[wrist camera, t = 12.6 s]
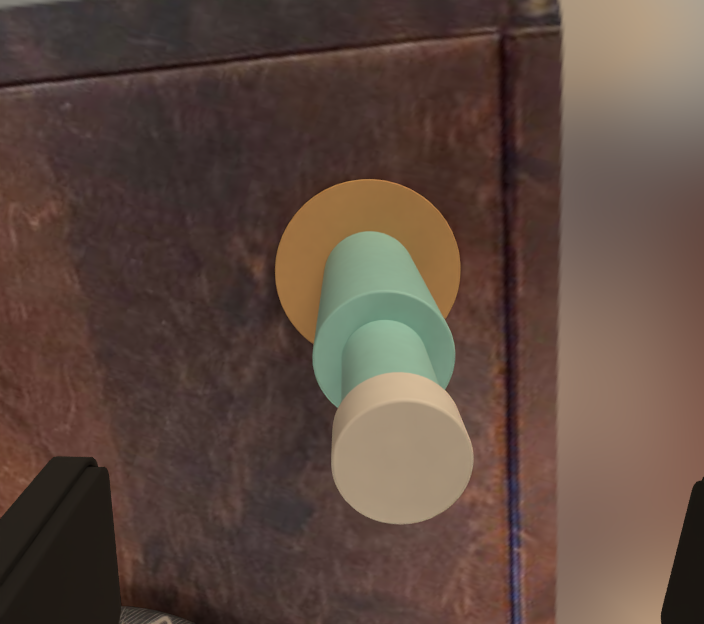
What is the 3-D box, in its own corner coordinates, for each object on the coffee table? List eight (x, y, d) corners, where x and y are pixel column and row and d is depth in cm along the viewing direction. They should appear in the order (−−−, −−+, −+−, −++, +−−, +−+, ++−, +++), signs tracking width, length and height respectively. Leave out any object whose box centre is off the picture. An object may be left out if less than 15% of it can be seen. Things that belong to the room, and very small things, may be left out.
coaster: (276, 174, 28) (275, 175, 27) (467, 183, 28) (469, 183, 27) (275, 355, 30) (274, 358, 30) (450, 361, 30) (451, 364, 30)
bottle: (325, 229, 28) (299, 363, 12) (417, 232, 28) (519, 371, 12) (322, 317, 29) (295, 550, 13) (411, 321, 29) (494, 555, 13)
